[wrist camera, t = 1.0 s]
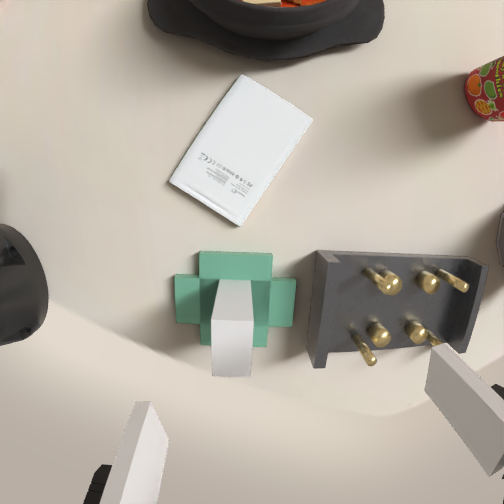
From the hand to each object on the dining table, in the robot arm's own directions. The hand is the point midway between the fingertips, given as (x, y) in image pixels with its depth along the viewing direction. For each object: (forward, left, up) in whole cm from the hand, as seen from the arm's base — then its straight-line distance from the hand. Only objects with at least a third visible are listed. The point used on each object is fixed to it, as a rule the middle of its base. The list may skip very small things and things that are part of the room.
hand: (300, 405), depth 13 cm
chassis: (+15, -3, -20) cm, 25 cm away
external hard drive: (-3, +12, -20) cm, 24 cm away
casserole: (-1, +30, -20) cm, 36 cm away
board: (-3, -3, -20) cm, 20 cm away
